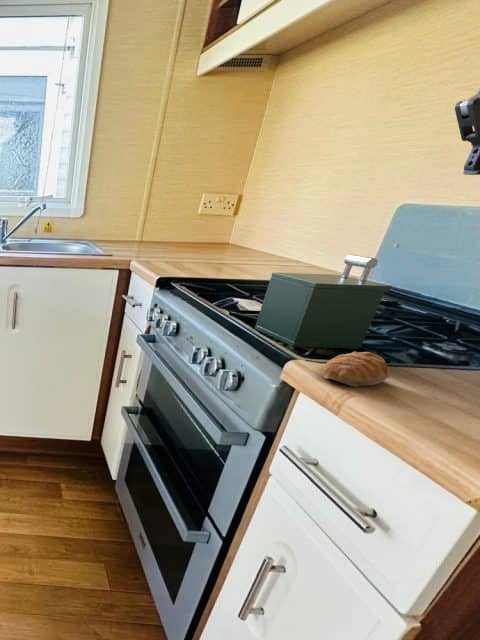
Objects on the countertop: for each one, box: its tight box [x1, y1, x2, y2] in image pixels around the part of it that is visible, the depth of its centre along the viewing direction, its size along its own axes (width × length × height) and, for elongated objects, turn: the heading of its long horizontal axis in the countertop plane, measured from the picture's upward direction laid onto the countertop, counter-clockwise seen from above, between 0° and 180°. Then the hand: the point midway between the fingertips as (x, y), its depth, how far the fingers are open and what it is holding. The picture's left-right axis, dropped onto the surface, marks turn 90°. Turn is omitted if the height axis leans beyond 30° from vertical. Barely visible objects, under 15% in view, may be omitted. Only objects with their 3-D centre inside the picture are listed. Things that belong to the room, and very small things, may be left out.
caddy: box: [254, 276, 386, 350], centre depth 81 cm, size 13×12×11 cm
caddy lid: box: [271, 254, 392, 291], centre depth 78 cm, size 13×12×5 cm
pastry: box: [322, 350, 391, 388], centre depth 63 cm, size 9×7×4 cm
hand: (474, 174), depth 63 cm, fingers closed
